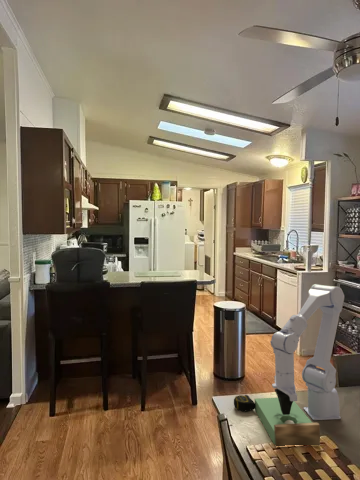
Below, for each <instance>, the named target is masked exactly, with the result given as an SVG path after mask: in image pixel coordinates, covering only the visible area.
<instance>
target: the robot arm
mask: <svg viewBox="0 0 360 480" xmlns="http://www.w3.org/2000/svg"><path fill="white" fill-rule="evenodd" d="M307 295H308V297H307V299H306V301H305V302H304V304H303V305H302V307H301V309H300V310H299V312H298V313H297V314H293V315H291V316H290V317H289V319H288V320H287V321H286V323H285V324H284V326H283V327H282V328H281V329H280V330H279V331H276V332H275V333H273V334H272V335H271V340H270V341H269V343H270V346H271V348H272V349H273V350H272V351H273V352H272V353H273V354H274V365H275V366H274V368H275V369H274V370H275V372H274V376H273V377H274V380H273V381H274V383H272V384H271V387H272V388H273V389H274V392H275V394H276V398H278V400H279V403H280V408H281V412H282V414H283V415H289V414H290V411H291V406H292V403H293V401H295V402H297V401H298V394H297V392H296V391H297V390H296V383H295V359H294V357H295V354H294V352H295V351H297V349H298V345H299V342H300V337H301V336H302V334H303V333H304V332H305V330H306V329H308V320H309V319H311V317H312V316H313V315H314V314H315V312H317V310H318V309H319V310H321V312H322V315H321V321H320V325H319V330H318V334H317V339H316V344H315V348H314V349H315V350H314V354H313V357H310V358H309V359H307V360H306V362H305V365H304V367H303V369H302V372H301V377H302V378H301V379H302V381H303V382H304V383H305V386H306V387H307V406H304V407H303V410H304V411H305V413H306V414H307V415H308V416H309V418H311V420H313V421H323V420H324V421H326V420H327V421H329V420H340V419H342V418H341V416H340V414H341V413H340V396H339V393H338V391H337V389H336V388H335V387H336V385H337V378H336V377H337V376H336V374H337V369H336V368H335V367H334V365H333V364H332V362H331V359H332V358H331V357H332V354H333V347H334V344H335V343H334V342H335V338H336V333H337V328H338V324H339V318H340V313H342V311H343V306H344V301H345V294H344V292H343V290H342V288H341V287H340V286H338V285H337V286H332V285H323V284H318V283H315V284H312V285H311V287H310V289H309V290H308V293H307Z"/></svg>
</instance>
